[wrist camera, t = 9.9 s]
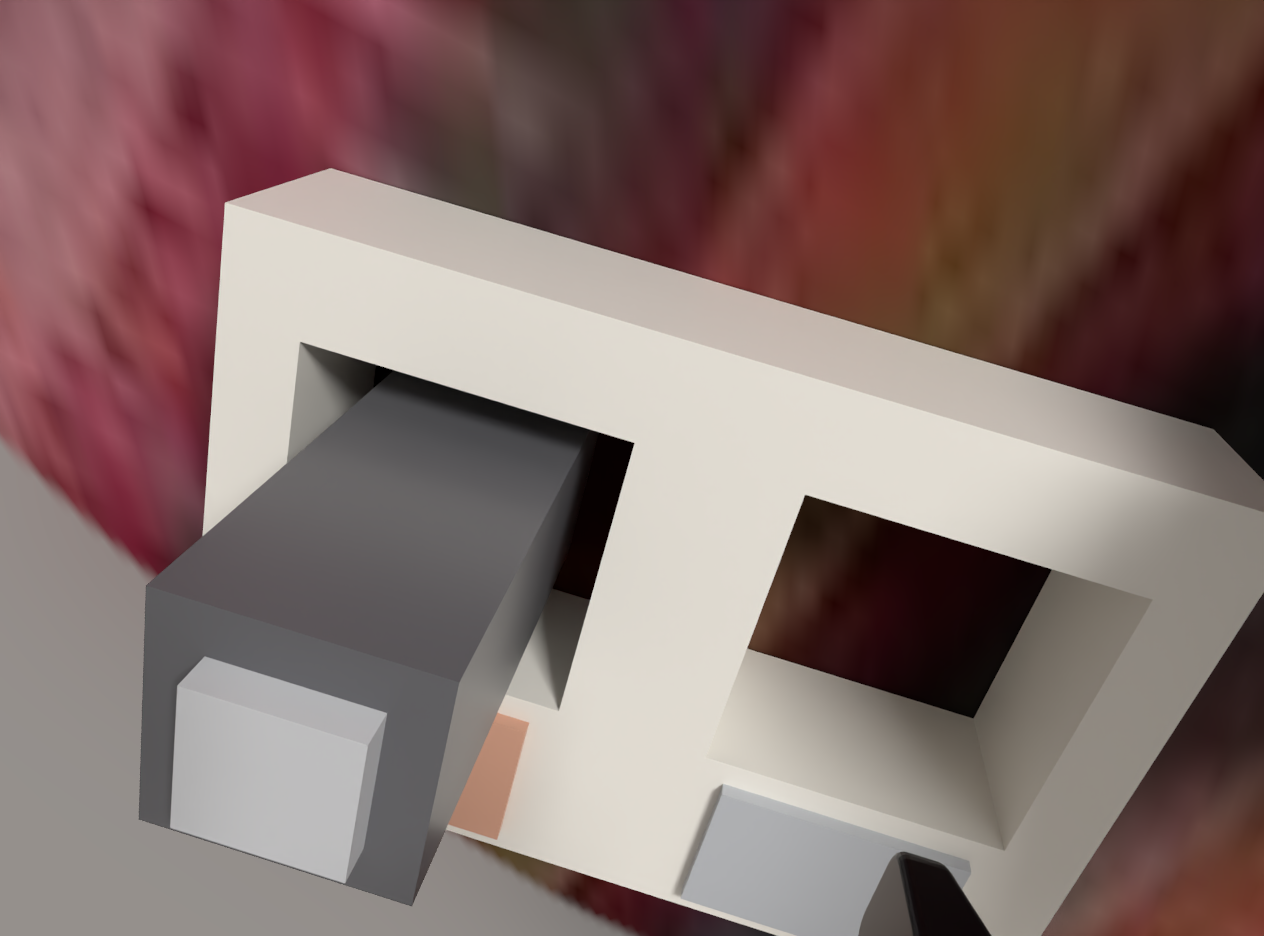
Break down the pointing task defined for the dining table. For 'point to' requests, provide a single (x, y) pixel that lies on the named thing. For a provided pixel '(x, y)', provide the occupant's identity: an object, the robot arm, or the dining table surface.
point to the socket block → (758, 557)
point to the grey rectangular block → (356, 633)
